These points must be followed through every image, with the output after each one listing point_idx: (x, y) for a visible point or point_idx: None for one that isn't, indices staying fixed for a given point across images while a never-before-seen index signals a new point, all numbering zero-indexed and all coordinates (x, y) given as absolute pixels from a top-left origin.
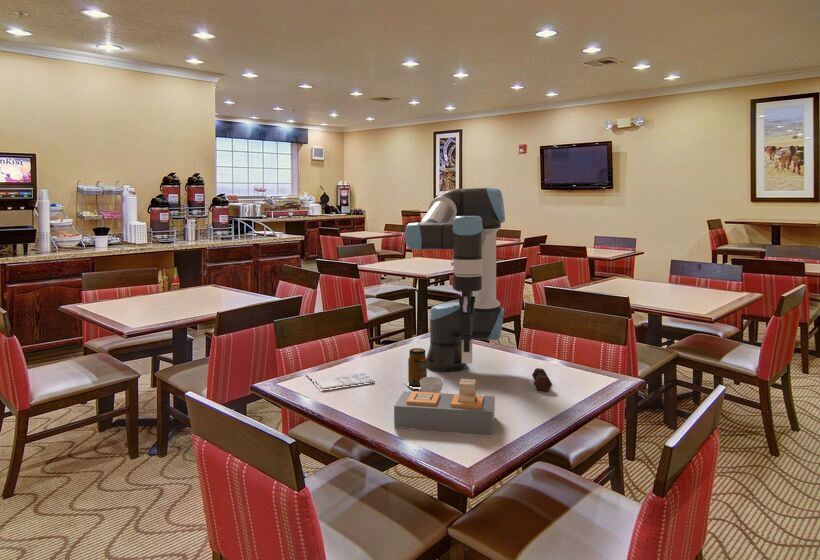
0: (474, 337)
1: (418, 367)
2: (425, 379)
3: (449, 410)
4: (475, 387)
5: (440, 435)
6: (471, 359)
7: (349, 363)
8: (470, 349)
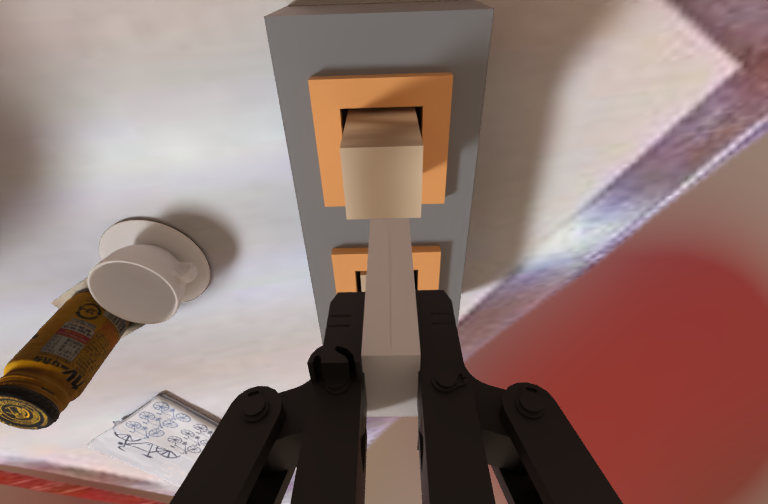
0: (355, 350)
1: (85, 355)
2: (121, 308)
3: (471, 196)
4: (351, 133)
5: (491, 183)
6: (410, 237)
7: (57, 456)
8: (415, 294)
